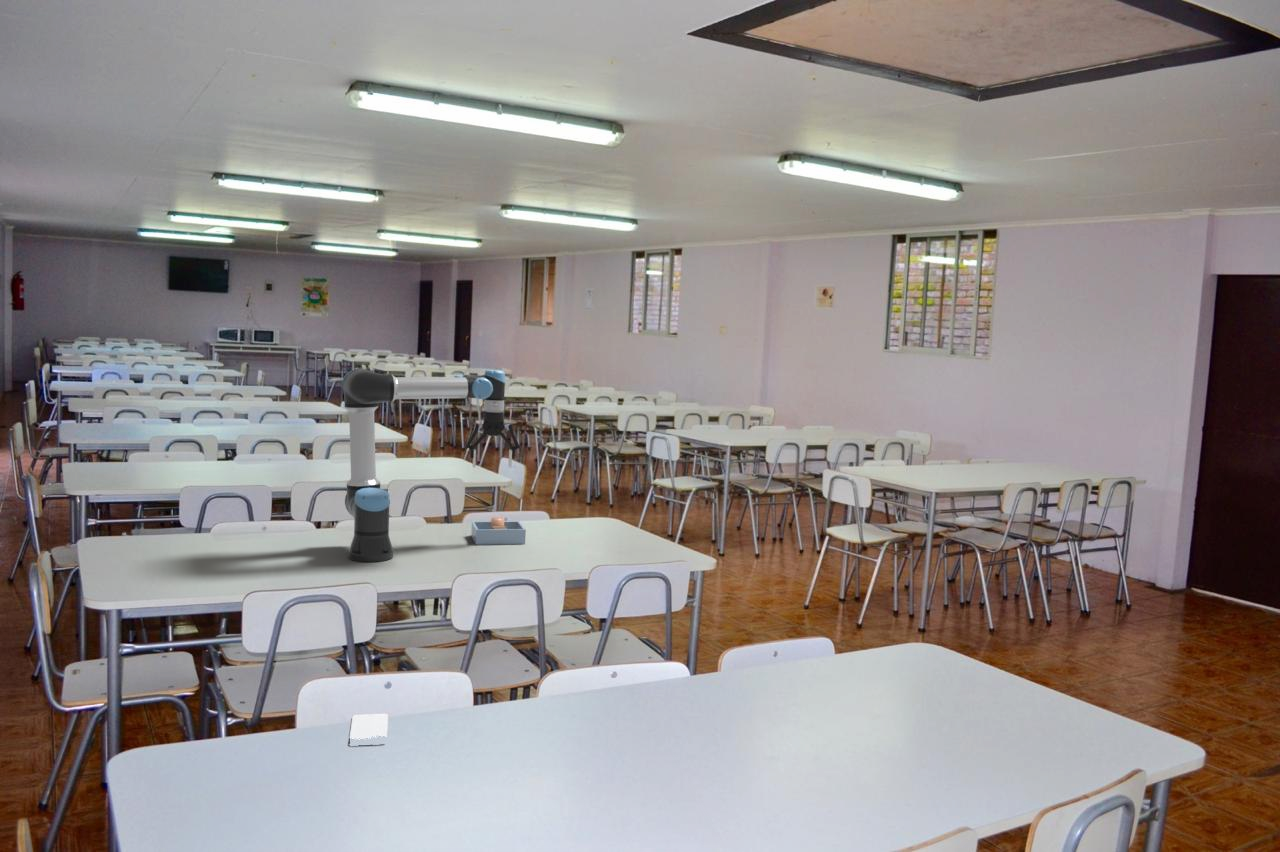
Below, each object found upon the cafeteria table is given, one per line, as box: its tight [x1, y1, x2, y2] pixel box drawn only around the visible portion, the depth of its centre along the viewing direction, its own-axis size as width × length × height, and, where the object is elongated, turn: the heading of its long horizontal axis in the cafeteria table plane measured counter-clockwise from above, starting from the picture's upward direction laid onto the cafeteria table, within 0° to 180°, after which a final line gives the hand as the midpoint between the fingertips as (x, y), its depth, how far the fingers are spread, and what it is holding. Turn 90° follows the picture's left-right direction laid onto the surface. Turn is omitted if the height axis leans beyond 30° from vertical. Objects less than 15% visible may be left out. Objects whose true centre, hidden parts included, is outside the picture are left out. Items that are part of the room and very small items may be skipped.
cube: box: [492, 526, 507, 529], centre depth 378 cm, size 5×5×5 cm
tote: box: [470, 520, 527, 546], centre depth 381 cm, size 19×16×6 cm
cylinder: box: [490, 517, 505, 529], centre depth 384 cm, size 5×5×7 cm
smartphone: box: [349, 713, 389, 740], centre depth 202 cm, size 7×1×15 cm
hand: (492, 467), depth 375 cm, fingers open, 13 cm apart
